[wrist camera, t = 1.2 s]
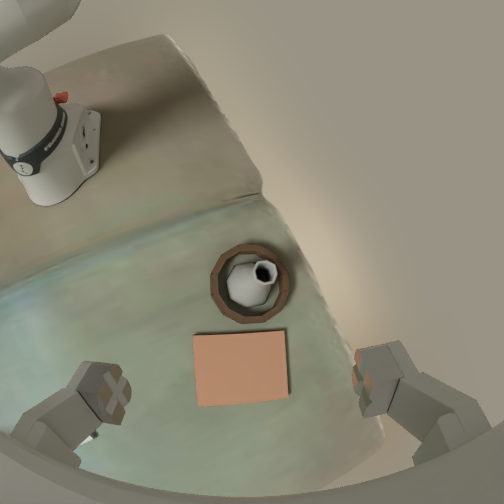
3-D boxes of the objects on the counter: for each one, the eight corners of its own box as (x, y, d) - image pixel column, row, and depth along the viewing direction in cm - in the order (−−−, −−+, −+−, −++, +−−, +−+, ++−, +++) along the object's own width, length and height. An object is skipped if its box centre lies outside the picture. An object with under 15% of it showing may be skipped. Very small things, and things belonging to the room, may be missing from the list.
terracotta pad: (192, 335, 40) (192, 335, 39) (282, 330, 43) (284, 330, 42) (197, 405, 37) (198, 406, 36) (286, 396, 40) (288, 397, 39)
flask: (228, 259, 44) (240, 239, 35) (272, 266, 46) (294, 249, 36) (222, 304, 42) (233, 297, 33) (268, 310, 43) (290, 304, 34)
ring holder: (209, 248, 44) (210, 244, 42) (281, 248, 47) (285, 244, 45) (212, 325, 41) (213, 324, 39) (287, 320, 44) (292, 320, 42)
